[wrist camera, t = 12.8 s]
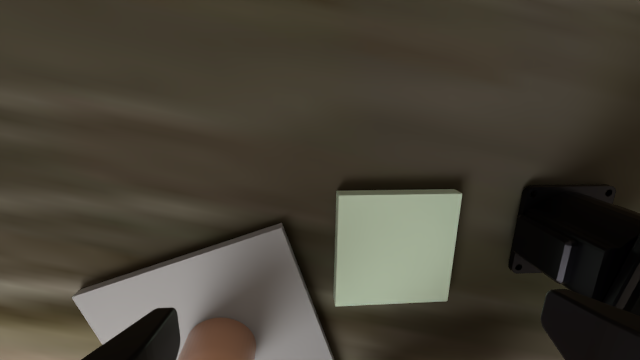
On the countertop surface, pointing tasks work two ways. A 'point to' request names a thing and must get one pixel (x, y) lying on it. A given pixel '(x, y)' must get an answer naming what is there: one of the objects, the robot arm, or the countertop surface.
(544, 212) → the robot arm
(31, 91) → the countertop surface
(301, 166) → the countertop surface
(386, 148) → the countertop surface
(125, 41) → the countertop surface
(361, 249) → the sage tile
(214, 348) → the terracotta jar
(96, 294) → the gray board
